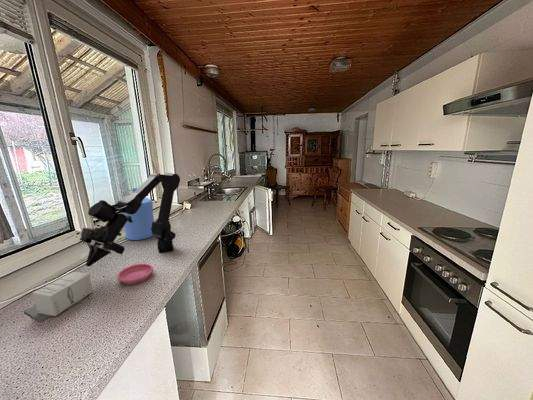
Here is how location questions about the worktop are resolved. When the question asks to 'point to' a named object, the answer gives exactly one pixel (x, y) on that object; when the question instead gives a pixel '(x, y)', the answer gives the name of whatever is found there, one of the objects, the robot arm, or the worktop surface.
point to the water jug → (140, 221)
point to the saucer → (135, 274)
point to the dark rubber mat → (38, 316)
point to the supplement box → (62, 293)
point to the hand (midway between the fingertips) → (87, 266)
